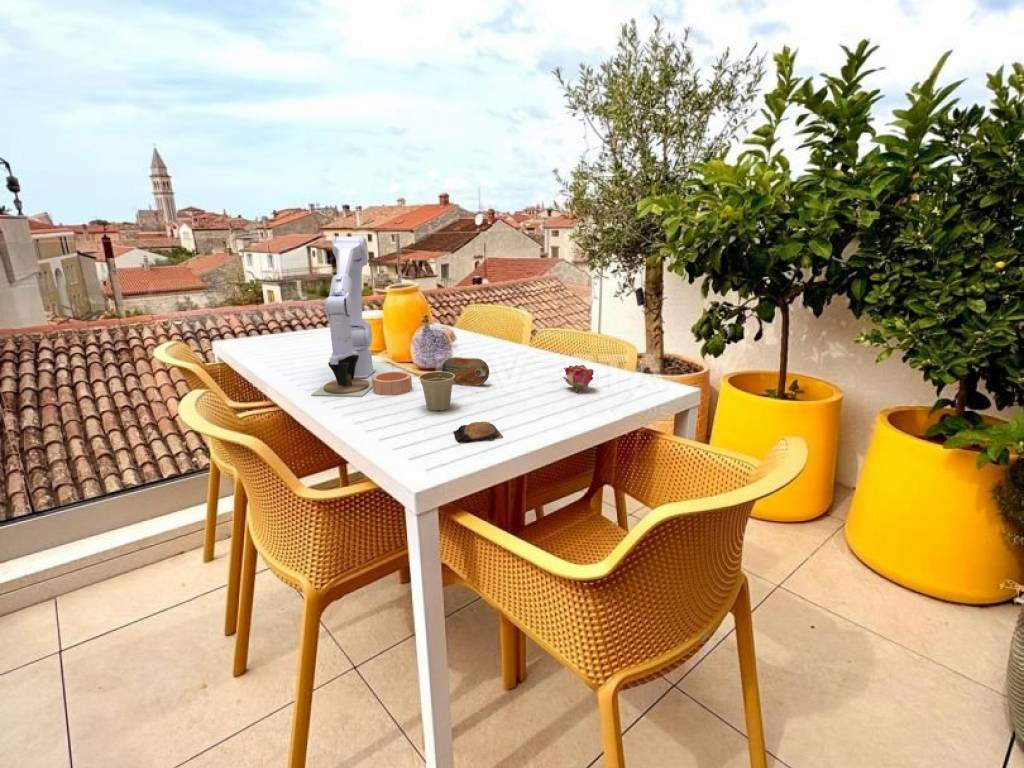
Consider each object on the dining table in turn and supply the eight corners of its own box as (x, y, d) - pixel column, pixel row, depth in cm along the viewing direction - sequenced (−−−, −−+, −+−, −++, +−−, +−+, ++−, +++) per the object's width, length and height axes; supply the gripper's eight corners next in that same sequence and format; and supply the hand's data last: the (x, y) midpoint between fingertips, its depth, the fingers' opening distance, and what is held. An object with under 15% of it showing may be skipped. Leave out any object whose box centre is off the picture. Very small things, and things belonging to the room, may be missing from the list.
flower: (596, 390, 139) (598, 365, 142) (564, 384, 139) (567, 358, 141) (586, 400, 149) (589, 375, 151) (557, 394, 148) (560, 369, 150)
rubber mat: (333, 381, 156) (332, 379, 156) (379, 381, 155) (379, 380, 155) (311, 395, 142) (311, 394, 141) (362, 396, 141) (362, 395, 140)
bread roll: (494, 428, 119) (494, 413, 118) (505, 441, 111) (504, 425, 110) (451, 433, 116) (450, 418, 115) (458, 447, 108) (458, 431, 107)
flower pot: (449, 414, 126) (448, 382, 124) (415, 412, 128) (413, 380, 126) (460, 402, 135) (459, 372, 133) (428, 400, 137) (426, 370, 135)
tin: (441, 383, 153) (440, 356, 151) (446, 380, 156) (445, 354, 154) (487, 387, 149) (486, 360, 146) (490, 384, 152) (490, 358, 149)
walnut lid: (334, 380, 155) (333, 369, 154) (375, 381, 154) (374, 369, 153) (316, 393, 142) (314, 381, 141) (360, 394, 141) (359, 381, 140)
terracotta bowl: (380, 383, 153) (379, 371, 152) (415, 384, 152) (414, 371, 151) (368, 394, 142) (367, 381, 141) (405, 395, 142) (404, 381, 140)
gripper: (345, 342, 137) (350, 389, 140) (363, 332, 150) (367, 375, 154) (320, 342, 137) (325, 389, 141) (341, 332, 151) (345, 375, 155)
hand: (346, 382), depth 148 cm, fingers open, 5 cm apart
